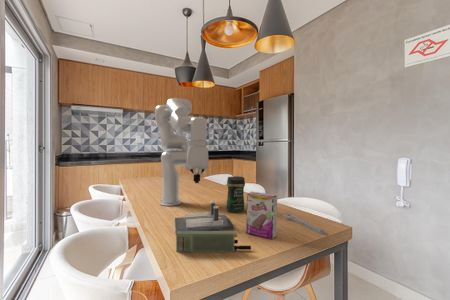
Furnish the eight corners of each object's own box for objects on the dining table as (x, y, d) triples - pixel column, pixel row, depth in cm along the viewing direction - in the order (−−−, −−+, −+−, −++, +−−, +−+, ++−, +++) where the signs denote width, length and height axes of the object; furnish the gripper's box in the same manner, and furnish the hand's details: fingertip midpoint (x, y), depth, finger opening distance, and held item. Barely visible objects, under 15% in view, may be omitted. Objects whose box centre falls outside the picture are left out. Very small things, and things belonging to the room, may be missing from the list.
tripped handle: (210, 215, 104) (210, 201, 104) (214, 214, 105) (214, 201, 104) (210, 216, 102) (211, 202, 102) (215, 216, 103) (215, 202, 102)
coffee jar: (229, 213, 115) (229, 177, 114) (224, 209, 122) (225, 175, 122) (246, 212, 118) (247, 177, 117) (241, 208, 125) (241, 175, 125)
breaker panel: (174, 221, 103) (174, 213, 103) (225, 217, 108) (225, 210, 108) (175, 233, 88) (175, 225, 88) (233, 229, 94) (233, 220, 94)
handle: (213, 220, 96) (213, 206, 96) (217, 220, 97) (217, 205, 97) (214, 222, 94) (214, 207, 94) (218, 222, 95) (218, 207, 95)
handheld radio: (177, 248, 77) (250, 248, 77) (175, 253, 73) (251, 253, 74) (177, 229, 76) (250, 229, 77) (175, 234, 73) (251, 234, 73)
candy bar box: (245, 234, 89) (246, 193, 89) (250, 230, 93) (251, 191, 93) (272, 240, 83) (273, 197, 83) (276, 235, 88) (277, 194, 87)
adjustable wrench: (328, 235, 90) (328, 231, 90) (314, 237, 88) (315, 233, 88) (291, 215, 114) (291, 212, 114) (280, 217, 112) (280, 213, 112)
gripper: (212, 144, 110) (210, 180, 111) (181, 143, 106) (180, 181, 107) (215, 145, 102) (213, 184, 104) (182, 144, 99) (181, 184, 100)
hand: (196, 182), depth 105 cm, fingers closed
